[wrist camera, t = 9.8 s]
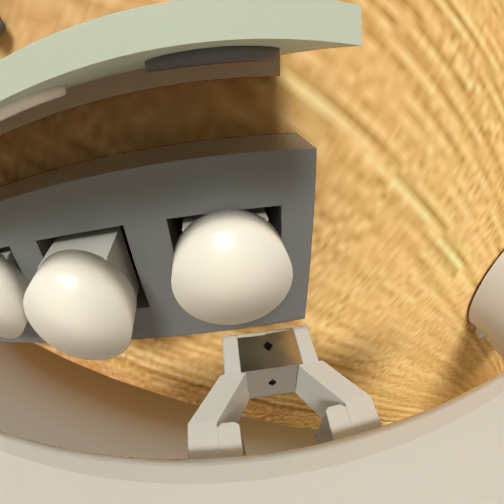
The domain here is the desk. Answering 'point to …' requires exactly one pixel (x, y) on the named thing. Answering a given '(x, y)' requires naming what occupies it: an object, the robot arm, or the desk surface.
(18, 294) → the button
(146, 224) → the button board
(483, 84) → the desk surface
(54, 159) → the desk surface
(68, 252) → the button middle
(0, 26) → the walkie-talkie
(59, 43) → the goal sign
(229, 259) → the button
